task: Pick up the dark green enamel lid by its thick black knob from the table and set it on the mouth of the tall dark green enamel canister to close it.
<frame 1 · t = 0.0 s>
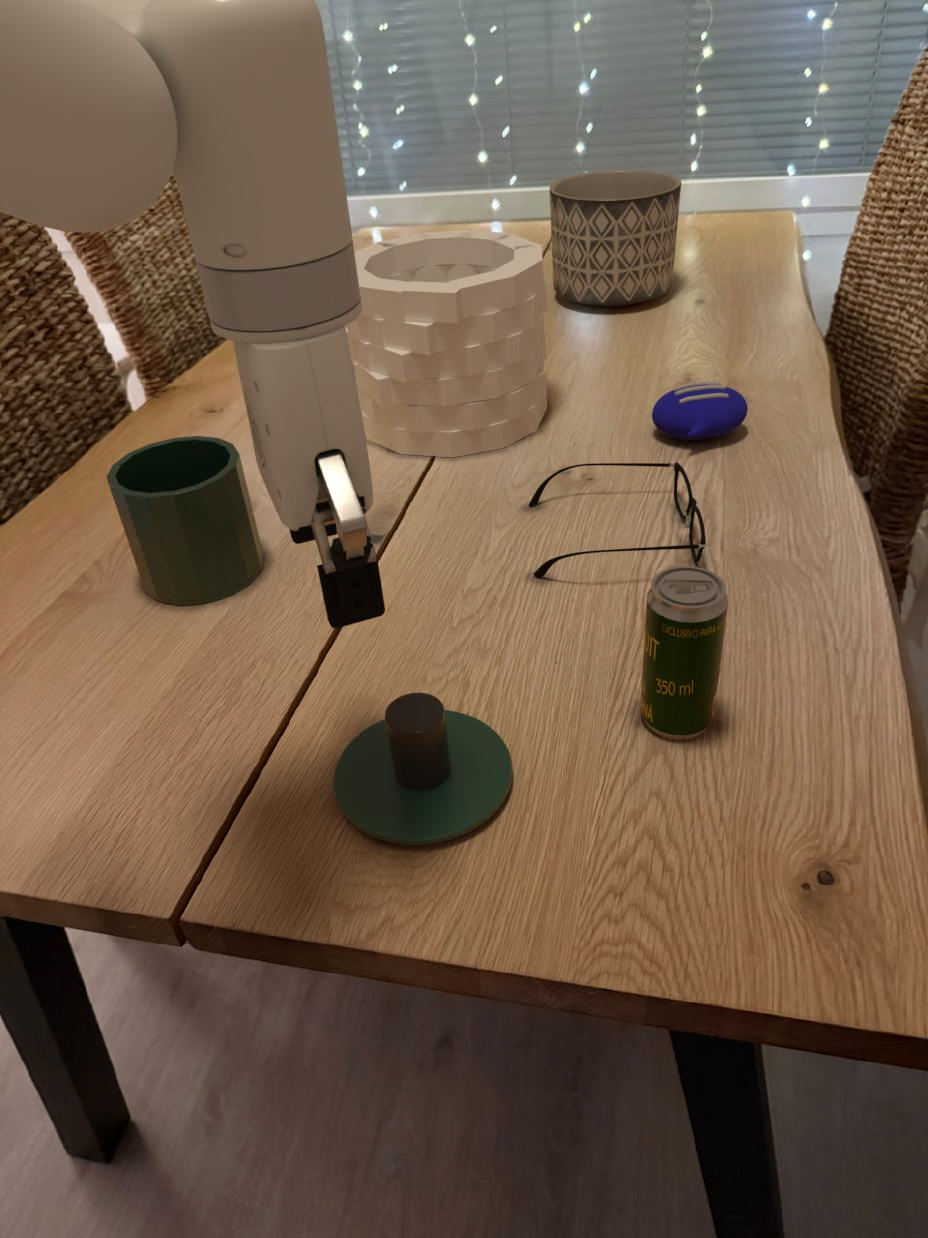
hand: (336, 575, 55), 18 cm above the table, tool pointing down, fingers open, 9 cm apart
basket: (452, 417, 114), on the table
lid: (423, 774, 65), point 1 cm above the table
canister: (204, 570, 90), on the table
decorative object: (697, 437, 105), on the table
planter: (611, 296, 146), on the table
eyeglasses: (611, 537, 90), on the table
green soda can: (675, 719, 69), on the table
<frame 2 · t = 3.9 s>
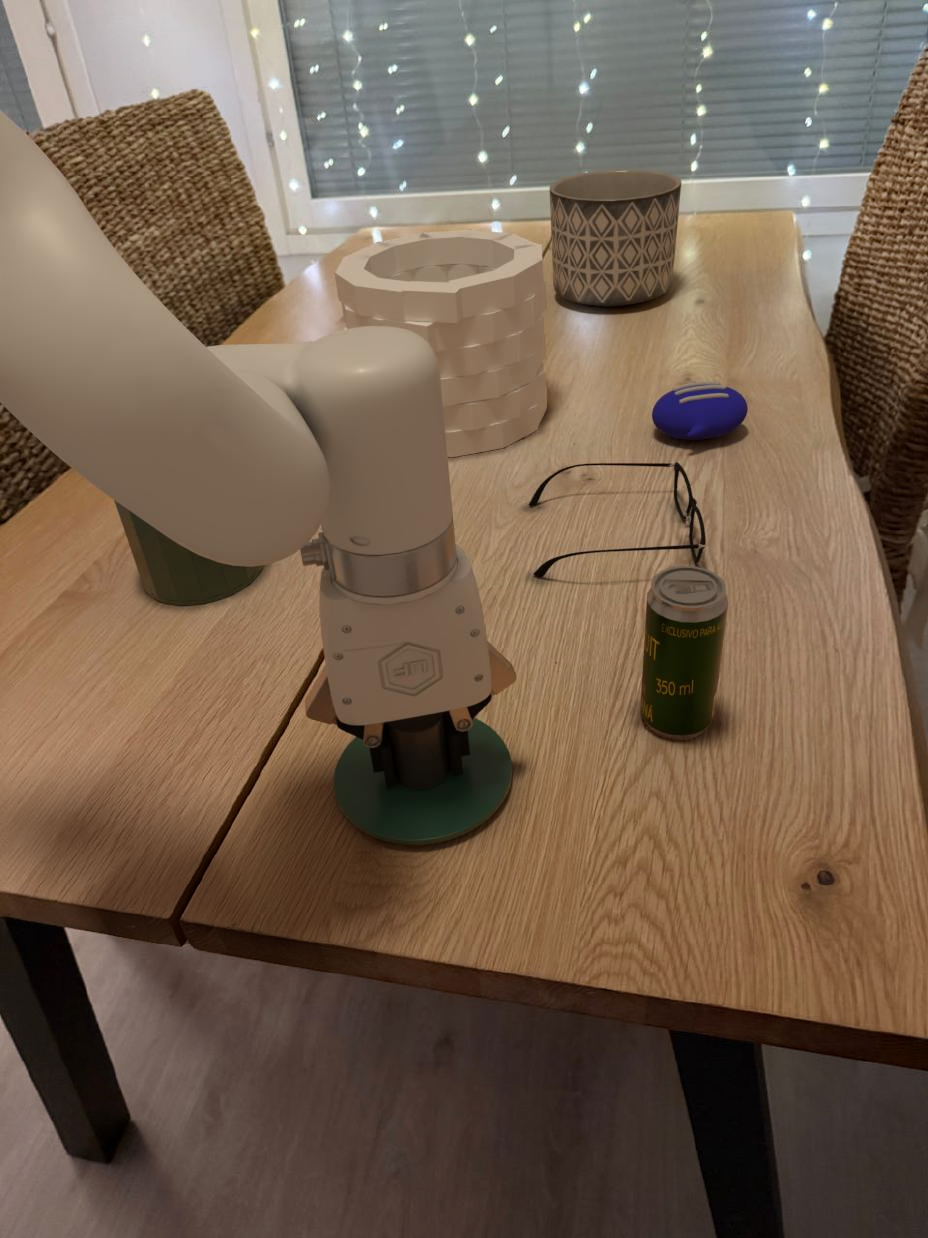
hand: (422, 765, 65), 2 cm above the table, tool pointing down, fingers closed on lid, 4 cm apart
lid: (423, 774, 65), point 1 cm above the table, touching gripper
everything else where it was.
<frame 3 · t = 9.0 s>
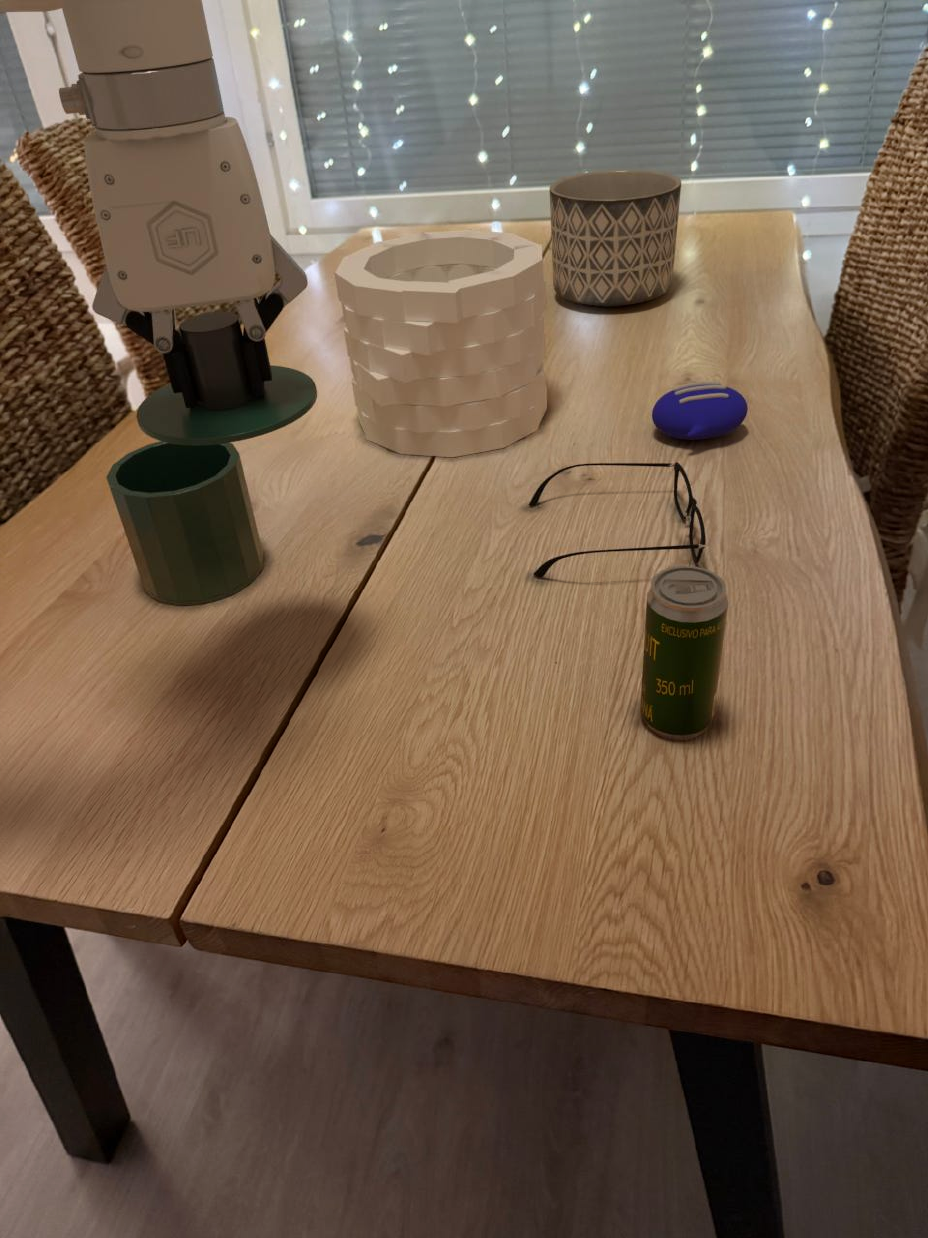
hand: (225, 393, 65), 23 cm above the table, tool pointing down, fingers closed on lid, 4 cm apart
lid: (228, 405, 65), point 22 cm above the table, touching gripper
everything else where it was.
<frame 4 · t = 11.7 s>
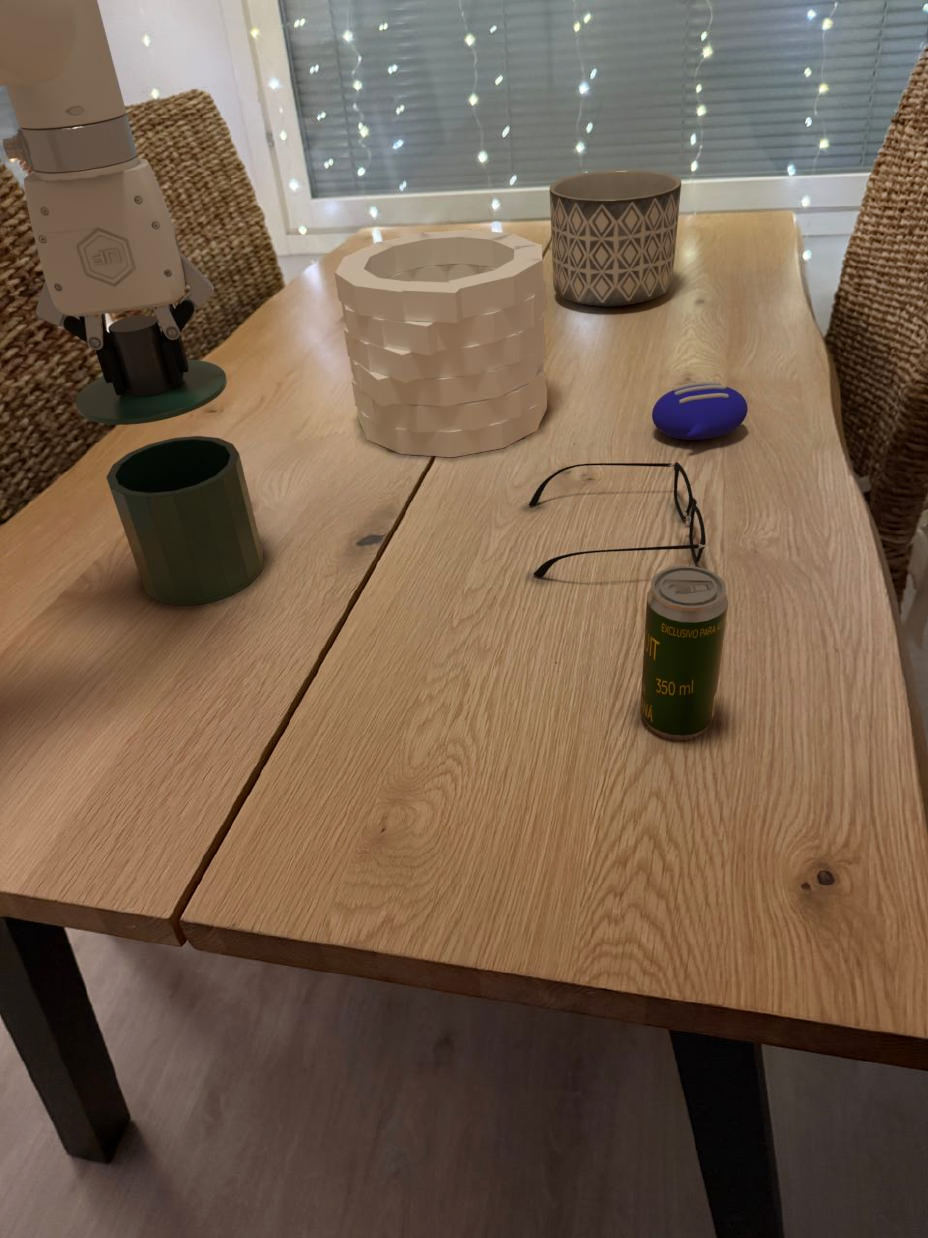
hand: (150, 382, 78), 19 cm above the table, tool pointing down, fingers closed on lid, 4 cm apart
lid: (153, 392, 79), point 18 cm above the table, touching gripper
everything else where it was.
when the fingers open (12 cm above the table, at t = 13.9 s): lid stays where it is, resting on canister.
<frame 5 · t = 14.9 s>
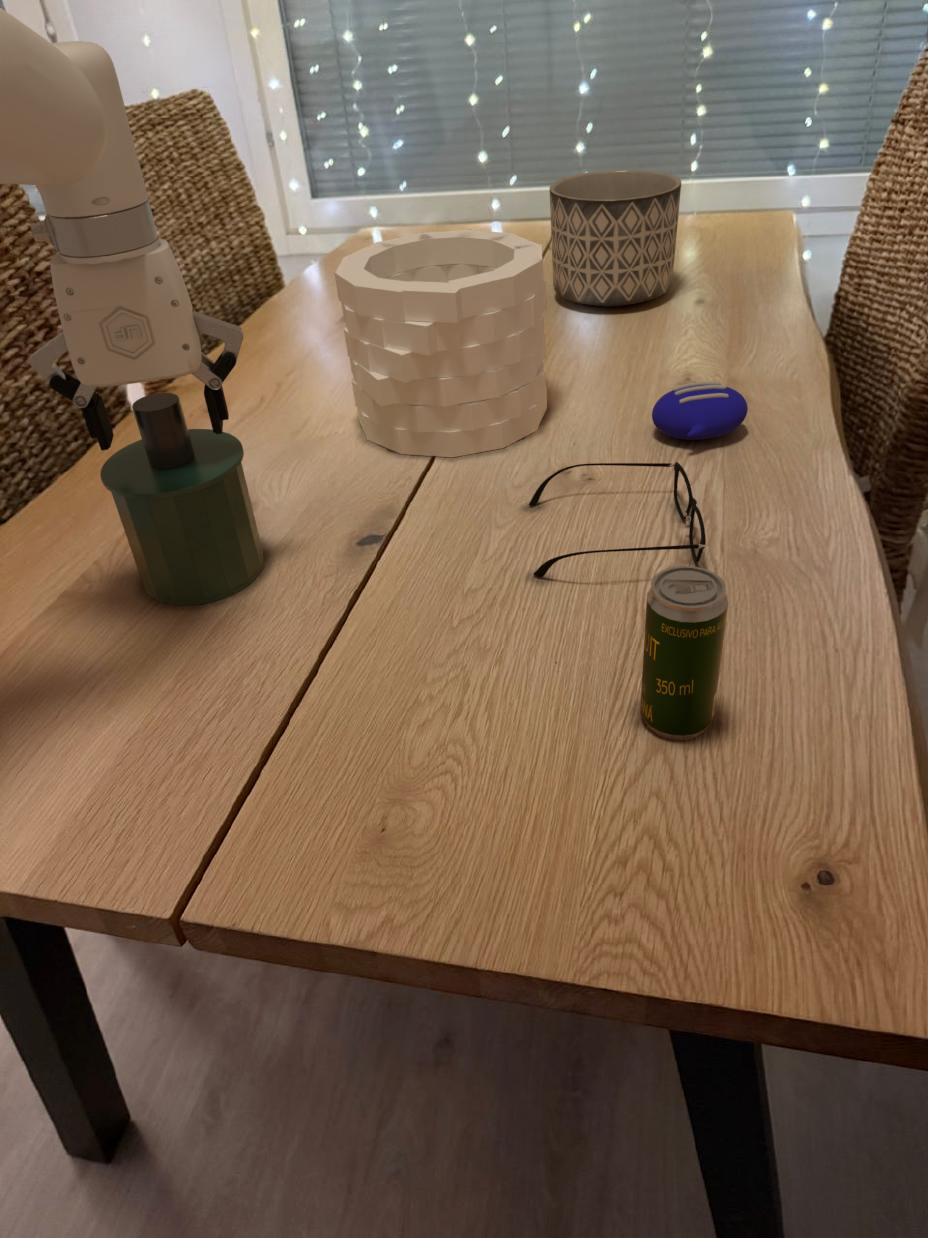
hand: (163, 435, 81), 14 cm above the table, tool pointing down, fingers open, 9 cm apart
lid: (173, 464, 83), point 11 cm above the table, touching canister
everything else where it was.
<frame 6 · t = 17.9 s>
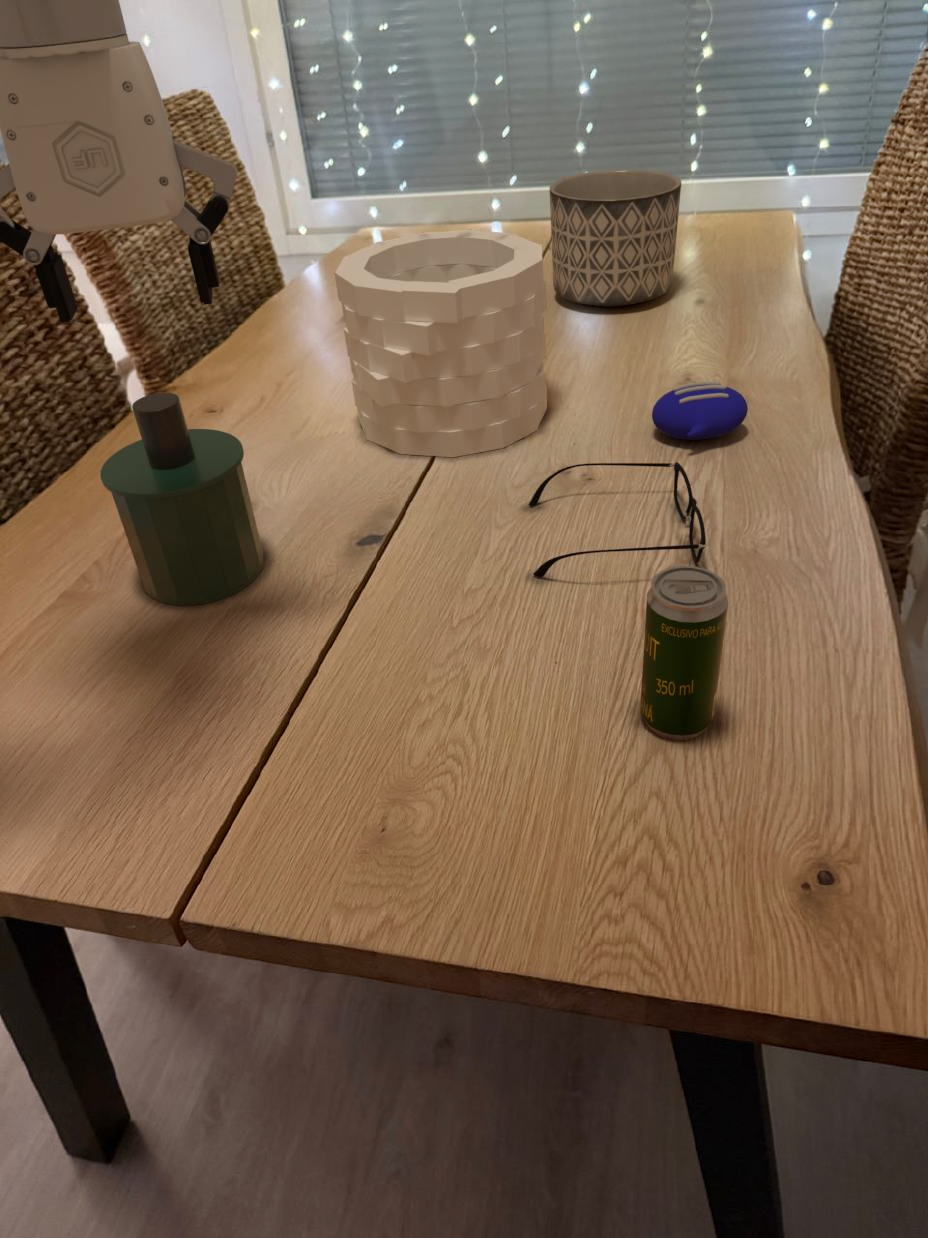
hand: (139, 307, 66), 28 cm above the table, tool pointing down, fingers open, 9 cm apart
nothing on the table moved.
at the end: lid 0.1 cm off-centre on the canister, point 11.5 cm above the canister's base; lid tilted 0° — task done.
